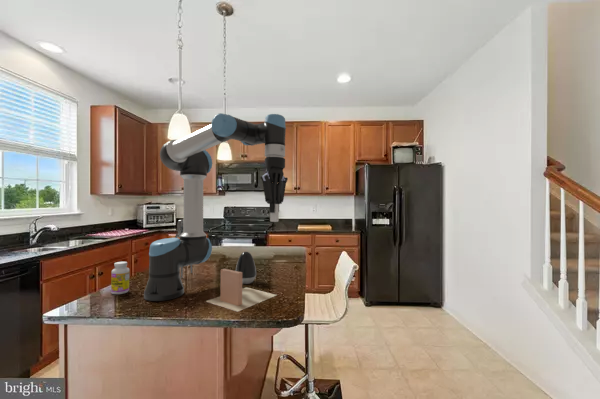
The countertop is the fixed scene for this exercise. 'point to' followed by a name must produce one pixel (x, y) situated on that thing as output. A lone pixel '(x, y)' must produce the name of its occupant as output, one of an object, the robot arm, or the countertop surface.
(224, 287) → the tile
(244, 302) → the cloth
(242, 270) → the black glossy egg shape
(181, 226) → the juicer
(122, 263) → the supplement bottle
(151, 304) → the countertop surface
